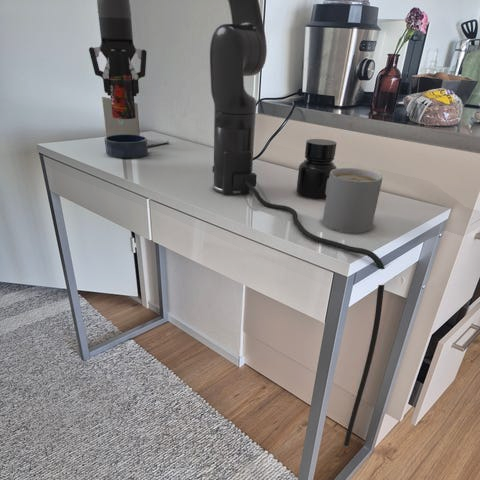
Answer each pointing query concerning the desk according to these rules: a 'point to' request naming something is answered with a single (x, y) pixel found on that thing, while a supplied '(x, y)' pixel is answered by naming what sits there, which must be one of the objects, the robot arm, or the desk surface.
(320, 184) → the ink bottle
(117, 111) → the deodorant
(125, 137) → the bowl
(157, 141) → the laptop
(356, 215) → the coffee mug
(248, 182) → the robot arm
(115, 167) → the desk surface
